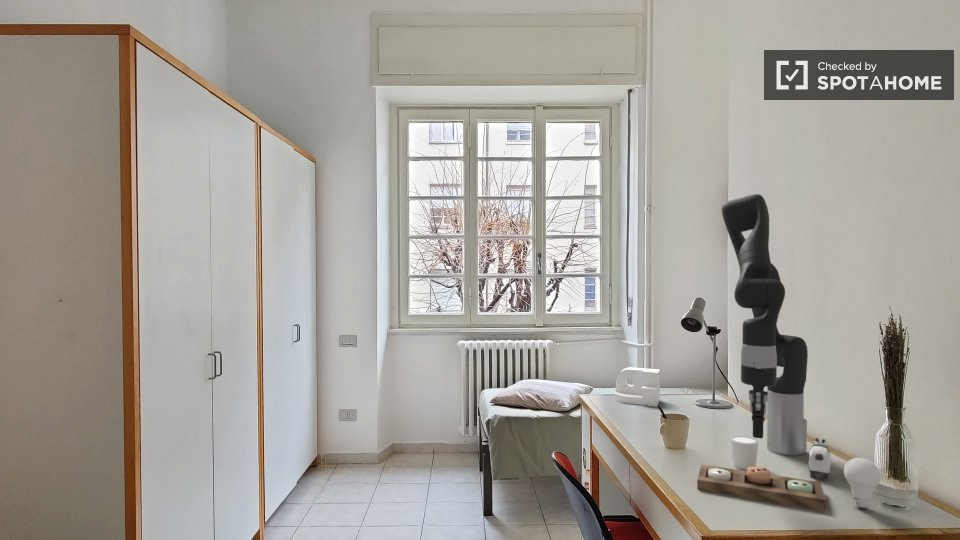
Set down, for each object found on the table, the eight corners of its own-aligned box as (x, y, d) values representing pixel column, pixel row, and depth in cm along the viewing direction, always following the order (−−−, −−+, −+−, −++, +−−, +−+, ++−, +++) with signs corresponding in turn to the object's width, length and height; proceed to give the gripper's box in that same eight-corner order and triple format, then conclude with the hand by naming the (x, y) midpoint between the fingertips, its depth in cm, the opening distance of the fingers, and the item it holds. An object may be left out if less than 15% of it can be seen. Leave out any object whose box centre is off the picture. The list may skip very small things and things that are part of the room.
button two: (811, 491, 130) (811, 481, 130) (813, 500, 126) (813, 489, 126) (786, 487, 132) (787, 477, 132) (788, 495, 128) (788, 485, 128)
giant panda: (830, 482, 138) (830, 449, 138) (808, 478, 141) (808, 446, 140) (830, 467, 148) (831, 436, 148) (810, 463, 151) (810, 433, 151)
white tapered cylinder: (746, 472, 145) (746, 445, 145) (724, 464, 151) (724, 438, 151) (764, 468, 148) (764, 441, 148) (741, 459, 154) (741, 434, 154)
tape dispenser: (659, 401, 218) (659, 369, 218) (656, 408, 209) (657, 374, 209) (617, 397, 225) (617, 366, 224) (613, 404, 215) (613, 371, 215)
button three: (770, 477, 134) (770, 467, 134) (770, 485, 129) (770, 474, 129) (746, 474, 136) (747, 464, 136) (746, 481, 132) (746, 471, 132)
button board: (820, 492, 132) (820, 482, 132) (825, 511, 122) (825, 499, 122) (701, 474, 143) (701, 464, 143) (697, 490, 134) (697, 479, 133)
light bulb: (836, 502, 127) (836, 453, 126) (864, 501, 127) (864, 452, 127) (858, 515, 120) (859, 464, 120) (888, 514, 121) (888, 463, 120)
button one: (731, 479, 138) (731, 469, 138) (730, 486, 133) (730, 476, 133) (709, 475, 140) (709, 466, 140) (707, 483, 135) (707, 473, 135)
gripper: (741, 358, 140) (741, 427, 140) (740, 366, 128) (739, 442, 128) (775, 360, 137) (775, 431, 137) (777, 369, 125) (776, 447, 125)
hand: (757, 437), depth 133 cm, fingers closed
